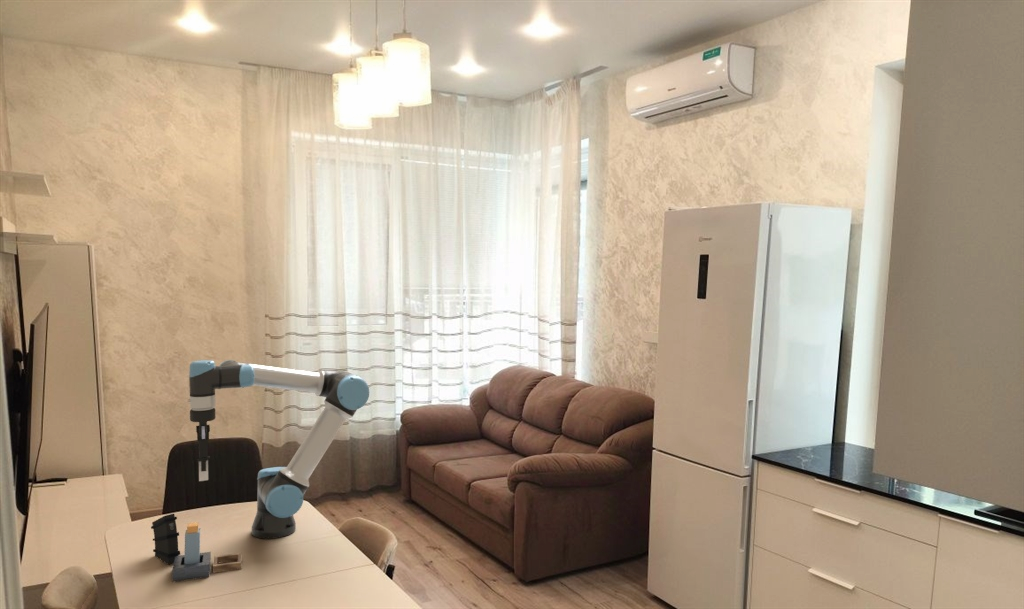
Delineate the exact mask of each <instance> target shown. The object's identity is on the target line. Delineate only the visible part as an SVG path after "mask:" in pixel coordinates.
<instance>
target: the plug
mask: <svg viewBox="0 0 1024 609" xmlns="http://www.w3.org/2000/svg"><path fill="white" fill-rule="evenodd" d="M200 553H201V528H199V522H192V523H191V522H190V523H187V526H186V529H185V532H184V555H185V560H184V565H187V564H194V563H200Z"/></svg>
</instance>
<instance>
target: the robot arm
mask: <svg viewBox="0 0 1024 609" xmlns="http://www.w3.org/2000/svg"><path fill="white" fill-rule="evenodd" d="M188 371H189V375H188V378H189V379H188V382H189V398H188V399H187V403H189V408H190V410H189V421H190V422H192V423H198V425H196V426H195V430H196V431H195V432H196V436H197V437H196V438H197V442H198V459H196V462H197V463H198V482H204V481H209V460H210V459H211V456H210V455H208V453H209V452H208V450H209V449H208V448H209V446H208V444H209V443H208V441H210V440H209V439H210V429H211V427H210V424H208V422H212V421H214V420H216V408H215V407H216V404H217V403H216V390H221V389H224V390H225V389H237V388H240V389H243V388H250V387H252V386H256V387H263V388H270V389H271V388H272V389H279V390H280V389H281V390H288V391H289V390H290V391H296V392H304V393H310V394H311V393H313V394H315V396H316V397H322V398H325V399H324V401H323V402H324V408H323V410H322V412H320V415H319V416H318V418H317V419H316V421H315V423H314V424H313V425H312V427H311V429H310V430H309V432H307V434H306V436H305V438H304V439H303V441H302V443H301V444H300V445H299V447H298V449H297V450H296V452H295V454H294V455H293V456H292V458H291V460H290V461H289V463H288V464H287V466H274V467H268V468H263V469H260V470H259V471H258V473H257V478H256V480H257V496H256V497H257V498H256V499H257V500H256V501H257V503H256V505H257V506H256V507H257V508H256V513H255V517H254V519H253V522H252V525H251V535H252V536H253V537H255V538H258V539H266V540H267V539H268V540H269V539H270V540H271V539H278V538H283V537H287V536H289V535H292V534H293V533H294V532H296V527H297V526H296V524H297V522H296V518H295V517H294V515H295V514H297V513H298V512H299V511H300V510H301V508H302V506H303V503H304V495H305V494H306V492H307V490H308V489H309V487H310V482H309V481H310V480H309V479H310V477H311V476H312V474H313V472H314V471H315V469H316V468H317V466H318V464H319V463H320V461H321V460H322V459H323V456H324V455H325V454H326V451H327V450H328V449H329V447H330V446H331V444H332V442H333V441H334V439H335V437H336V436H337V434H338V432H339V431H341V430H340V429H341V428H342V426H343V424H344V423H345V422H346V420H348V419H351V418H353V417H354V415H355V414H356V412H357V411H358V410H359V409H361V408H362V407H363V406H365V405H366V404H367V402H368V400H369V397H370V387H369V384H368V383H367V382H366V381H365V380H364V379H363V378H362V377H361V376H359V375H357V374H356V375H355V374H353V373H350V372H348V371H330V370H329V371H327V370H322V369H321V370H320V371H318V372H316V371H307V370H301V369H293V368H285V367H276V366H269V365H262V364H254V363H246V362H239V361H236V360H232V359H231V360H229V359H228V360H225V361H223V362H221V363H220V365H216V362H215V361H214V360H212V359H211V360H209V359H207V360H194V361H192V362H191V363H190V364H189V370H188Z"/></svg>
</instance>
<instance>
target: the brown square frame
mask: <svg viewBox="0 0 1024 609" xmlns="http://www.w3.org/2000/svg"><path fill="white" fill-rule="evenodd" d="M230 561H231V562H230ZM219 562H223V563H219ZM241 569H242V553H241V552H239V553H229V554H221V555H214V556H213V564H212V573H213V572H214V573H220V572H219V571H222V572H228V570H229V571H235V570H241Z"/></svg>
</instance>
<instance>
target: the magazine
mask: <svg viewBox="0 0 1024 609" xmlns="http://www.w3.org/2000/svg"><path fill="white" fill-rule="evenodd" d="M176 520H178V516H175V513H170V514H166V515H163V516H162V517H159V518H158V519H156V520H154V521H152V525H151V526H150V528H151V529H150V530H153V535H154V538H152V541H154V549H152V550H153V551H152V552H153V553H154V557H156V558H157V559H158V560H160V561H162V562H163V563H165V564H166V565H168V566H170V565H173V564H174V560H175V556H179V555H181V551H180V550H179V540H178V538H179V537H178V536H180V532H179V531H178V529H177V523H176Z"/></svg>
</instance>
